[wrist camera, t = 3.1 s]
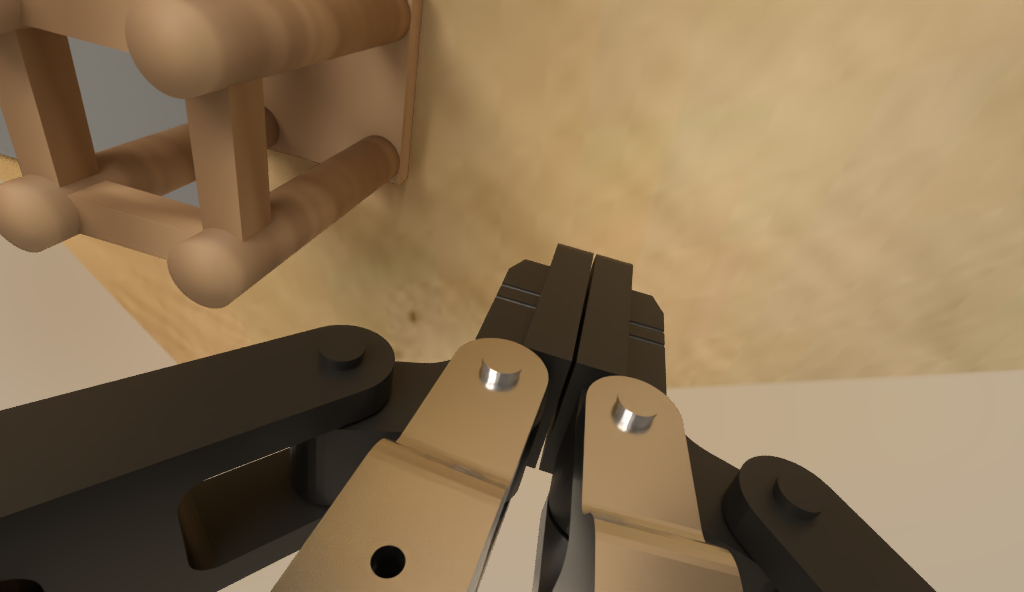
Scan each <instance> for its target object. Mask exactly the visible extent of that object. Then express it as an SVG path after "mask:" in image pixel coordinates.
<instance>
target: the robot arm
mask: <svg viewBox="0 0 1024 592" xmlns="http://www.w3.org/2000/svg"><path fill="white" fill-rule="evenodd" d="M593 255H594V253H590V252H587V251H583V250H580V249H577V248H573V247H570V246H566V245H563V244H559V243H558V245H557V248H556V251H555V254H554V257H553V260H552V263H551V266H547V265H543V264H540V263H537V262H533V261H530V260H526V259H525V260H523V261H522V262H520V263H518V264H516V265H515V266H513V267H511V268H509V270H508V272H507V274H506V277H505V279H504V281H503V283H502V286H501V287H500V289H499V291H498V293H497V296H496V298H495V300H494V302H493V304H492V306H491V308H490V310H489V312H488V314H487V316H486V318H485V320H484V323H483V325H482V327H481V329H480V331H479V333H478V335H477V337H476V339H475V340H473V341H470V342H468V343H466V344H464V345H463V346H461V347H460V348H459V349H458V350H457V352H456V353H455V354H454V356H453V357H452V359H451V360H448V361H444V362H439V363H412V362H397V361H395V355H394V351H393V349H392V347H391V346H390V344H389V343H388V342H387V341H386V340H385V339H384V338H383V337H381V336H380V335H379V334H377V333H375V332H373V331H371V330H368V329H365V328H361V327H357V326H350V325H332V326H325V327H321V328H317V329H313V330H309V331H305V332H301V333H297V334H294V335H290V336H286V337H282V338H278V339H274V340H270V341H267V342H263V343H259V344H255V345H251V346H247V347H243V348H240V349H236V350H232V351H228V352H224V353H220V354H217V355H213V356H209V357H205V358H201V359H197V360H193V361H190V362H186V363H182V364H178V365H174V366H171V367H166V368H163V369H159V370H155V371H151V372H148V373H144V374H140V375H136V376H132V377H128V378H124V379H120V380H117V381H113V382H109V383H105V384H101V385H97V386H93V387H90V388H86V389H82V390H78V391H74V392H71V393H67V394H63V395H59V396H55V397H51V398H48V399H43V400H39V401H36V402H32V403H28V404H24V405H20V406H16V407H13V408H9V409H5V410H1V411H0V592H217V591H219V590H221V589H223V588H225V587H227V586H229V585H231V584H233V583H234V582H237V581H239V580H241V579H242V578H244V577H246V576H248V575H250V574H252V573H254V572H256V571H258V570H260V569H262V568H264V567H266V566H268V565H270V564H272V563H274V562H276V561H278V560H280V559H282V558H284V557H286V556H288V555H290V554H292V553H294V552H296V551H298V550H299V552H298V553H297V555H296V556H295V558H294V559H293V560H292V562H291V563H290V565H289V566H288V568H287V569H286V570H285V572H284V573H283V575H282V576H281V578H280V579H279V580H278V582H277V583H276V585H275V586H274V587H273V589H272V590H271V592H477V591H478V588H479V586H480V582H481V580H482V577H483V575H484V572H485V569H486V566H487V564H488V561H489V558H490V555H491V553H492V550H493V547H494V545H495V542H496V539H497V536H498V534H499V531H500V528H501V525H502V522H503V520H504V517H505V514H506V512H507V509H508V506H509V503H510V500H511V498H512V497H513V496H514V495H515V493H516V492H517V490H518V488H519V486H520V482H521V479H522V477H523V473H524V471H525V467H526V466H529V467H532V468H535V467H536V464H537V461H538V458H539V455H540V452H541V449H542V446H543V444H544V441H545V445H544V449H543V454H542V458H541V462H540V468H539V470H542V471H545V472H548V473H551V474H553V476H552V481H551V486H550V491H549V494H548V497H547V500H546V502H545V504H544V507H543V510H542V513H541V518H540V526H539V536H538V544H537V553H536V562H535V571H534V580H533V588H532V592H936V591H935V590H934V589H933V588H932V587H931V586H930V585H929V584H928V583H927V582H926V581H925V580H924V579H923V578H922V577H921V576H920V575H919V574H918V573H917V572H916V571H915V570H914V569H913V568H911V567H910V565H908V564H907V562H905V561H904V560H903V559H902V558H901V557H900V556H899V555H898V554H897V553H896V552H895V551H894V550H893V549H892V548H891V547H890V546H889V545H888V544H887V543H886V542H885V541H884V540H883V539H882V538H881V537H880V536H879V535H878V534H877V533H876V532H875V531H874V530H873V529H872V528H871V527H869V525H868V524H867V523H866V522H865V521H864V520H863V519H861V518H860V517H859V516H858V515H857V514H856V513H855V512H854V511H853V510H852V509H851V508H850V507H849V506H848V505H847V504H846V503H845V502H844V501H843V500H842V499H841V498H840V497H839V496H838V495H837V494H836V493H835V492H834V491H833V490H832V489H831V488H830V487H829V486H828V485H827V484H825V483H824V482H823V481H822V480H821V479H820V478H818V477H817V476H816V475H814V474H813V473H811V472H810V471H808V470H807V469H805V468H803V467H801V466H799V465H797V464H796V463H793V462H791V461H788V460H786V459H782V458H779V457H774V456H758V457H753V458H751V459H749V460H748V461H746V462H745V463H744V464H743V466H742V467H741V469H740V470H739V469H737V468H735V467H734V466H732V465H730V464H729V463H727V462H725V461H723V460H722V459H719V458H718V457H716V456H714V455H712V454H711V453H709V452H708V451H706V450H704V449H703V448H701V447H699V446H698V445H697V444H695V443H694V442H693V441H692V440H690V439H689V438H688V437H687V436H686V435H685V431H684V424H683V420H682V417H681V414H680V412H679V410H678V409H677V407H676V406H675V404H674V403H673V402H672V401H671V400H670V399H669V398H668V397H667V396H666V368H665V348H664V344H665V341H664V333H663V332H664V313H663V312H662V310H661V309H660V307H659V306H658V304H657V303H656V301H655V299H654V298H653V296H650V295H647V294H644V293H640V292H637V291H633V290H632V273H633V265H632V264H629V263H626V262H622V261H619V260H615V259H612V258H608V257H605V256H601V255H598V254H596V256H595V259H594V262H593V265H592V260H593ZM591 265H592V268H591ZM590 269H591V271H590ZM546 435H547V436H546ZM545 438H546V440H545ZM288 447H290V448H288ZM285 448H288V449H285ZM283 449H285V450H283ZM281 450H283V451H281ZM278 451H280V452H278ZM275 452H278V453H275ZM273 453H275V454H273ZM270 454H272V455H270ZM268 455H270V456H268ZM265 456H267V457H265ZM262 457H265V458H262ZM260 458H262V459H260ZM257 459H259V460H257ZM254 460H257V461H254ZM252 461H254V462H252ZM249 462H252V463H249ZM247 463H249V464H247ZM244 464H246V465H244ZM242 465H244V466H242ZM239 466H241V467H239ZM236 467H239V468H236ZM234 468H236V469H234ZM231 469H233V470H231ZM228 470H231V471H228ZM226 471H228V472H226ZM223 472H226V473H223ZM221 473H223V474H221ZM218 474H221V475H218ZM216 475H218V476H216ZM213 476H216V477H213ZM210 477H213V478H210ZM208 478H210V479H208ZM206 479H208V480H206ZM204 480H205V481H204Z"/></svg>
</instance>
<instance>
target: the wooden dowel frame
mask: <svg viewBox="0 0 1024 592" xmlns="http://www.w3.org/2000/svg"><path fill="white" fill-rule="evenodd" d="M422 6H423V0H0V107H1V110H2V113H3V116H4V119H5V122H6V126H7V129H8V132H9V135H10V138H11V141H12V144H13V147H14V151H15V154H16V157H17V160H18V163H19V166H20V169H21V172H22V175H23V176H22V177H19V178H16V179H13V180H10V181H7V182H4V183H1V184H0V234H1V235H2V236H3V237H4V238H5V239H6V240H8V241H9V242H10V243H12V244H13V245H15V246H16V247H18V248H20V249H22V250H25V251H28V252H40V251H43V250H45V249H47V248H49V247H51V246H53V245H56V244H58V243H60V242H62V241H65V240H67V239H69V238H71V237H73V236H76V235H78V234H84V235H87V236H90V237H94V238H97V239H100V240H103V241H107V242H110V243H113V244H117V245H120V246H123V247H126V248H130V249H133V250H136V251H140V252H143V253H146V254H149V255H153V256H156V257H159V258H163V259H166V260H167V264H168V269H169V273H170V275H171V277H172V279H173V281H174V283H175V284H176V285H177V287H178V288H179V289H180V290H181V291H182V292H183V293H184V294H185V295H186V296H187V297H188V298H190V299H191V300H192V301H194V302H196V303H197V304H200V305H202V306H205V307H208V308H222V307H225V306H227V305H228V304H230V303H231V302H232V301H233V300H235V299H236V298H237V297H239V296H240V295H241V294H242V293H244V292H245V291H246V290H248V289H249V288H250V287H251V286H253V285H254V284H255V283H257V282H258V281H259V280H261V279H262V278H263V277H264V276H266V275H267V274H268V273H270V272H271V271H272V270H273V269H275V268H276V267H277V266H279V265H280V264H281V263H282V262H284V261H285V260H286V259H288V258H289V257H290V256H291V255H293V254H294V253H295V252H297V251H298V250H299V249H300V248H302V247H303V246H304V245H306V244H307V243H308V242H310V241H311V240H312V239H313V238H315V237H316V236H317V235H319V234H320V233H321V232H322V231H324V230H325V229H326V228H328V227H329V226H330V225H331V224H333V223H334V222H335V221H337V220H338V219H339V218H340V217H342V216H343V215H344V214H346V213H347V212H348V211H350V210H351V209H352V208H353V207H355V206H356V205H357V204H359V203H360V202H361V201H362V200H364V199H365V198H366V197H368V196H369V195H370V194H371V193H373V192H374V191H375V190H377V189H378V188H379V187H380V186H382V185H383V184H384V183H386V182H389V183H393V184H397V185H399V184H400V183H401V182H402V181H404V180H405V179H406V178H407V177H408V168H409V156H410V145H411V133H412V122H413V110H414V99H415V87H416V75H417V64H418V52H419V41H420V29H421V18H422ZM67 36H68V37H72V38H76V39H80V40H83V41H87V42H91V43H95V44H98V45H102V46H106V47H110V48H113V49H117V50H121V51H125V52H128V53H130V55H131V57H132V59H133V61H134V63H135V65H136V66H137V68H138V69H139V71H140V72H141V74H142V75H143V76H144V77H145V78H146V80H147V81H148V82H149V83H150V84H152V85H153V86H154V87H155V88H156V89H158V90H159V91H161V92H162V93H164V94H166V95H168V96H171V97H174V98H178V99H185V104H186V112H187V119H188V123H185V124H182V125H179V126H176V127H173V128H170V129H167V130H164V131H161V132H158V133H154V134H151V135H148V136H145V137H142V138H139V139H136V140H133V141H130V142H127V143H124V144H121V145H118V146H115V147H112V148H108V149H105V150H102V151H99V152H96V153H95V151H94V147H93V143H92V138H91V134H90V130H89V126H88V122H87V117H86V113H85V109H84V105H83V101H82V96H81V92H80V88H79V84H78V80H77V76H76V71H75V67H74V63H73V59H72V55H71V50H70V46H69V42H68V38H67ZM267 149H270V150H274V151H278V152H281V153H285V154H288V155H292V156H296V157H299V158H303V159H306V160H310V161H314V162H317V163H320V164H318V165H316V166H315V167H313V168H311V169H309V170H308V171H306V172H304V173H302V174H301V175H299V176H297V177H295V178H294V179H292V180H290V181H288V182H287V183H285V184H283V185H281V186H280V187H278V188H276V189H274V190H273V191H271V192H269V176H268V160H267ZM194 181H196V184H197V191H198V198H199V206H200V208H199V207H196V206H192V205H189V204H185V203H182V202H179V201H175V200H172V199H168V198H165V197H162V196H163V195H165V194H168V193H170V192H172V191H174V190H176V189H179V188H181V187H183V186H185V185H187V184H190V183H192V182H194Z"/></svg>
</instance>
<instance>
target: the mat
mask: <svg viewBox="0 0 1024 592" xmlns="http://www.w3.org/2000/svg"><path fill="white" fill-rule="evenodd" d="M67 38H68V42H69V46H70V50H71V55H72V59H73V63H74V67H75V71H76V76H77V80H78V84H79V88H80V92H81V96H82V101H83V105H84V109H85V113H86V117H87V122H88V126H89V130H90V134H91V138H92V143H93V147H94V151H95V153H96V152H99V151H102V150H105V149H108V148H112V147H115V146H118V145H121V144H124V143H127V142H130V141H133V140H136V139H139V138H142V137H145V136H148V135H151V134H154V133H158V132H161V131H164V130H167V129H170V128H173V127H176V126H179V125H182V124H185V123H188V119H187V112H186V104H185V99H178V98H174V97H171V96H168V95H166V94H164V93H162V92H161V91H159V90H158V89H156V88H155V87H154V86H153V85H152V84H150V83H149V82H148V81H147V80H146V78H145V77H144V76H143V75H142V74H141V72H140V71H139V69H138V68H137V66H136V65H135V63H134V61H133V59H132V57H131V55H130V53H128V52H125V51H121V50H117V49H113V48H110V47H106V46H102V45H98V44H95V43H91V42H87V41H83V40H80V39H76V38H72V37H68V36H67ZM0 154H2V155H5V156H9V157H12V158H16V159H17V157H16V154H15V151H14V147H13V144H12V141H11V138H10V135H9V132H8V129H7V126H6V122H5V119H4V116H3V113H2V110H1V107H0ZM162 197H165V198H168V199H172V200H175V201H179V202H182V203H185V204H189V205H192V206H196V207H199V208H200V206H199V198H198V191H197V184H196V181H194V182H192V183H190V184H187V185H185V186H183V187H181V188H179V189H176V190H174V191H172V192H170V193H168V194H165V195H163V196H162Z"/></svg>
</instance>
